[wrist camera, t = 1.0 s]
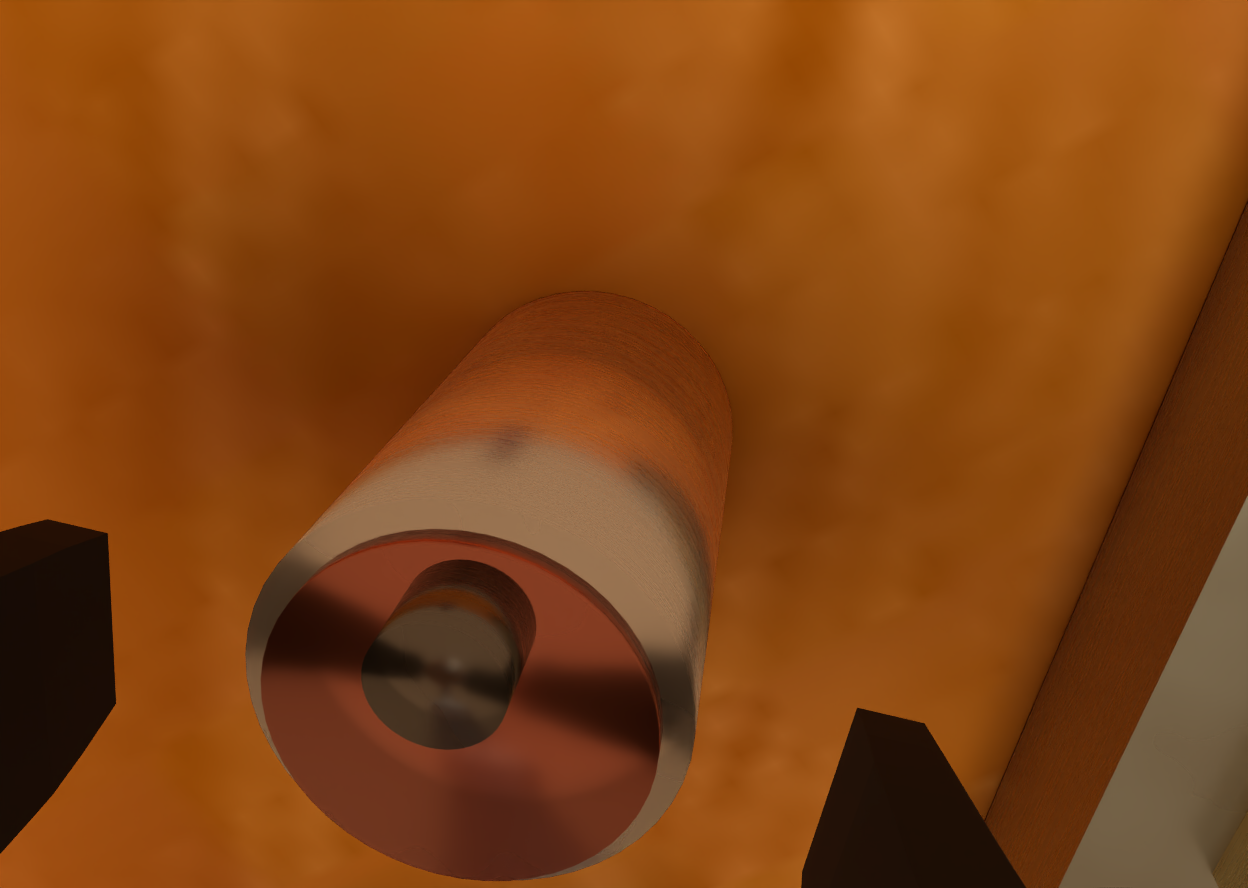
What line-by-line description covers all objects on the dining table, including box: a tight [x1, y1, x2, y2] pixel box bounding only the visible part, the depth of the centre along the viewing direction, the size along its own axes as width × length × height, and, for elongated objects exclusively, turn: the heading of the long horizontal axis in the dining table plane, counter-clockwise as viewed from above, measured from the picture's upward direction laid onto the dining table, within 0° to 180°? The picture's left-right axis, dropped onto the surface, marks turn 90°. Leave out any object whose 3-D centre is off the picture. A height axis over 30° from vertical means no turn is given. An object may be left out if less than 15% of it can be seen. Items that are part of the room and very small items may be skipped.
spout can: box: [246, 291, 733, 881], centre depth 12 cm, size 4×4×8 cm
